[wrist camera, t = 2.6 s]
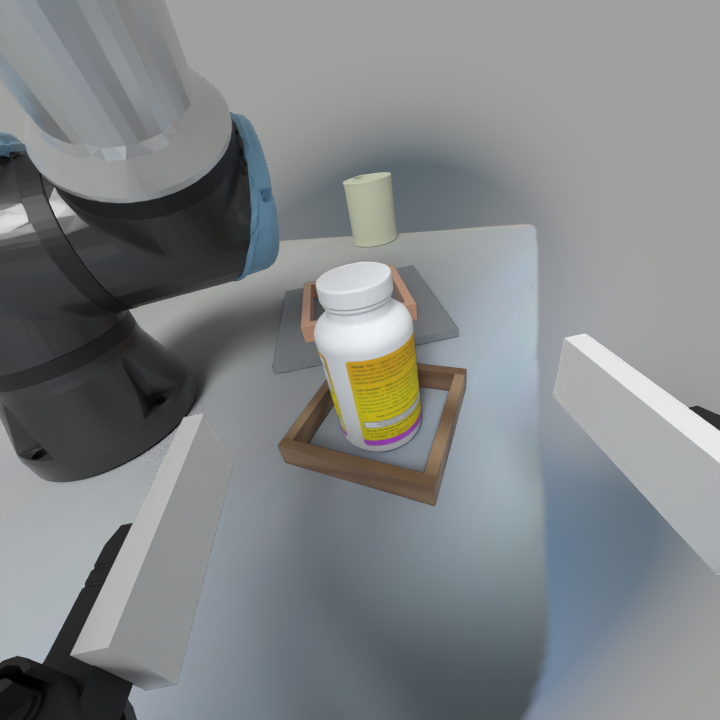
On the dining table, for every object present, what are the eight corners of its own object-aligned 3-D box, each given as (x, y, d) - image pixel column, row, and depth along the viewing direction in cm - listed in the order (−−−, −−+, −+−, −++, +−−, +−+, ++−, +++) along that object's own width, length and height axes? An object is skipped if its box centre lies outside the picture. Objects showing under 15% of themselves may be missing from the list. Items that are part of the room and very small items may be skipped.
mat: (458, 336, 36) (458, 328, 35) (275, 374, 36) (272, 366, 35) (413, 271, 52) (412, 265, 51) (287, 297, 52) (286, 291, 51)
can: (378, 230, 74) (370, 169, 67) (407, 235, 67) (401, 168, 61) (345, 243, 70) (333, 180, 64) (371, 250, 64) (361, 181, 57)
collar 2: (435, 506, 21) (433, 487, 20) (285, 462, 26) (277, 445, 25) (466, 386, 29) (466, 369, 28) (348, 370, 34) (344, 355, 33)
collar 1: (417, 319, 38) (416, 303, 37) (305, 342, 38) (300, 327, 37) (394, 278, 48) (393, 265, 47) (307, 296, 49) (304, 283, 47)
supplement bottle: (437, 412, 27) (430, 260, 20) (390, 470, 24) (360, 310, 16) (374, 386, 31) (348, 251, 24) (325, 432, 28) (277, 290, 20)
